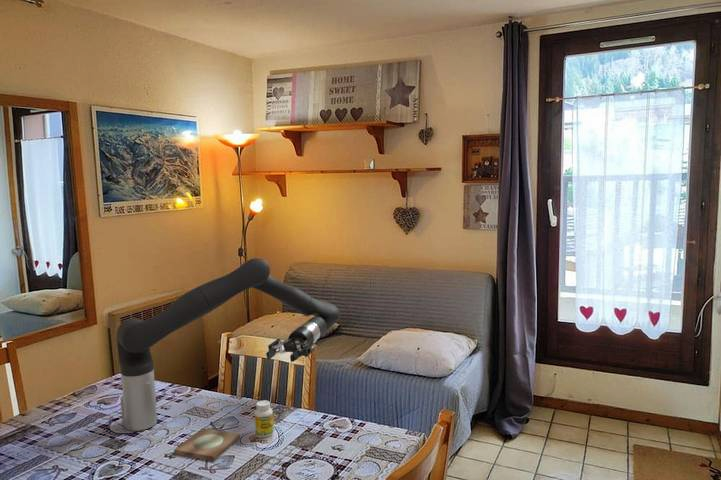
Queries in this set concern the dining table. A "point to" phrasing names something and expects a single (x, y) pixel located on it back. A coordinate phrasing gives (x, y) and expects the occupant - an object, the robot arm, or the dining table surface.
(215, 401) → the dining table surface
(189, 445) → the walnut board
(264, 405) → the supplement bottle
